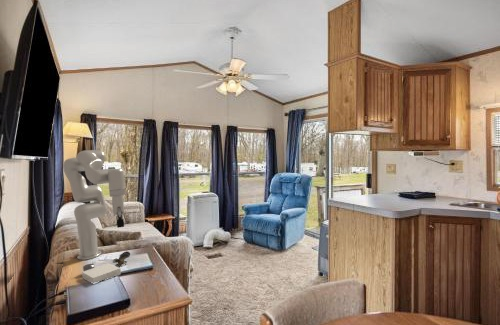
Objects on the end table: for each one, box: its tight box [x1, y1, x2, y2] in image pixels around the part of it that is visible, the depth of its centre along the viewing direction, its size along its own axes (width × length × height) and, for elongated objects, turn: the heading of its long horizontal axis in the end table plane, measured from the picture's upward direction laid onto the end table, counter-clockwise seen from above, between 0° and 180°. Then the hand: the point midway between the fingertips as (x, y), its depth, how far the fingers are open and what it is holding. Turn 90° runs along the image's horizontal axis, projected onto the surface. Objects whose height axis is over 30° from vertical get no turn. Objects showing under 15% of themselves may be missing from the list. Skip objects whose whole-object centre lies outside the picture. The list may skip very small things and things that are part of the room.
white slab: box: [81, 263, 122, 283], centre depth 147 cm, size 13×13×3 cm
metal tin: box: [82, 263, 95, 272], centre depth 152 cm, size 5×5×4 cm
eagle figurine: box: [112, 250, 131, 268], centre depth 160 cm, size 8×7×9 cm
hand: (120, 225), depth 155 cm, fingers open, 9 cm apart
